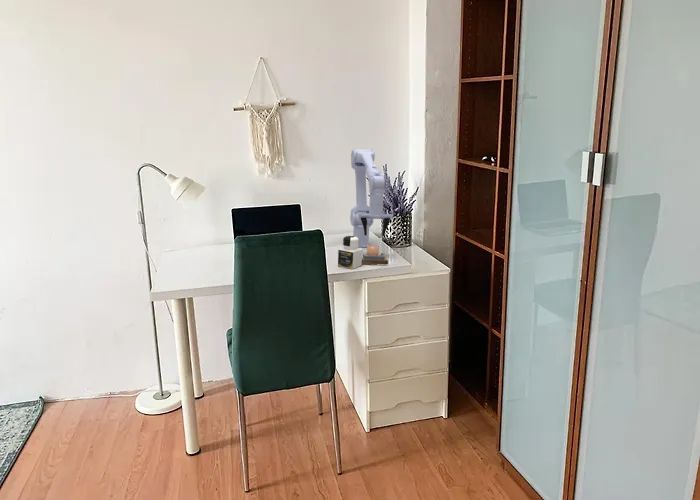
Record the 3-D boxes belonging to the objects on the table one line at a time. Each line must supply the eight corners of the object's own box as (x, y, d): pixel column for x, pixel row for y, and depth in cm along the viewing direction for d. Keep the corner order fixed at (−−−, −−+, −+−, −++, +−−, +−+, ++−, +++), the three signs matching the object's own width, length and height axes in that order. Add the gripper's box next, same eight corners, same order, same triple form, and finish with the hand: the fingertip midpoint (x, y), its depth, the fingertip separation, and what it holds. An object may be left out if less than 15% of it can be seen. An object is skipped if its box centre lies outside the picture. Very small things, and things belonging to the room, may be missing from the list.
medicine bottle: (337, 266, 235) (338, 236, 232) (347, 262, 241) (348, 234, 238) (352, 269, 231) (353, 239, 229) (361, 265, 237) (363, 236, 235)
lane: (357, 256, 252) (357, 251, 252) (382, 256, 253) (383, 252, 253) (361, 264, 239) (361, 260, 238) (387, 265, 240) (388, 260, 239)
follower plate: (363, 261, 244) (363, 255, 243) (383, 261, 244) (383, 255, 244) (363, 261, 243) (363, 255, 242) (383, 262, 243) (383, 256, 243)
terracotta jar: (365, 258, 249) (366, 245, 247) (377, 259, 249) (378, 245, 248) (367, 261, 244) (367, 247, 242) (378, 262, 244) (379, 248, 243)
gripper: (360, 205, 244) (358, 236, 247) (394, 206, 245) (392, 237, 248) (358, 202, 250) (356, 233, 254) (392, 203, 252) (389, 234, 255)
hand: (374, 235), depth 251 cm, fingers open, 7 cm apart
